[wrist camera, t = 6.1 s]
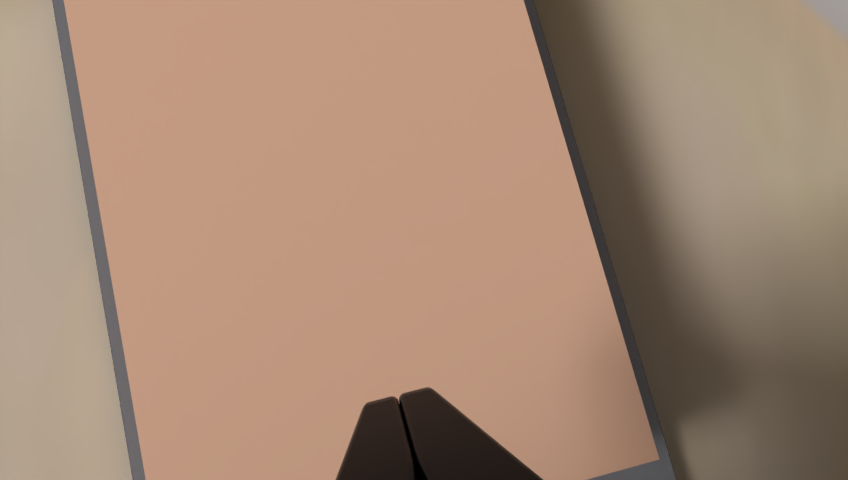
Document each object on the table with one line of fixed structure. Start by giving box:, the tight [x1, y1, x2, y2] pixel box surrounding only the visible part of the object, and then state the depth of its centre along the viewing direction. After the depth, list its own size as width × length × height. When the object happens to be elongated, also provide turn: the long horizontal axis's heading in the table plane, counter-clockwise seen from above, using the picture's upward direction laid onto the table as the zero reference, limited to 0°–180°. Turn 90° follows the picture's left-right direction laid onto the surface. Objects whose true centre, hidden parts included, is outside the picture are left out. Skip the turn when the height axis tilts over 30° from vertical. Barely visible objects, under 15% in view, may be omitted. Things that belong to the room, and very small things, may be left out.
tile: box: [64, 0, 659, 480], centre depth 15 cm, size 2×9×12 cm
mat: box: [52, 0, 676, 480], centre depth 16 cm, size 19×11×1 cm, turn 14°
